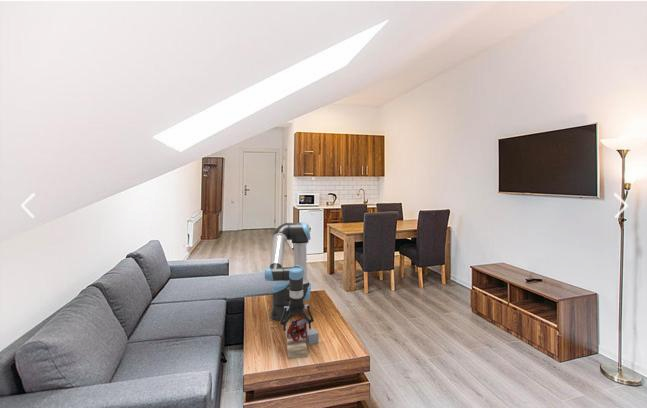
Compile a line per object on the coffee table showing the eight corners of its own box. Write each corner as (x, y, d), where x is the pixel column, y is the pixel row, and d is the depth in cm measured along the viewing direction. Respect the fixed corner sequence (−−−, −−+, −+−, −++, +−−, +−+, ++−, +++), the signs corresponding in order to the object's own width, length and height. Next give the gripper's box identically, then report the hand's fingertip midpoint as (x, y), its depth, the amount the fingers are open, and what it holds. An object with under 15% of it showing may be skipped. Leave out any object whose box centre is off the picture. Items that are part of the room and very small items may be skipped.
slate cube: (305, 340, 179) (305, 330, 179) (314, 338, 182) (314, 328, 181) (309, 345, 174) (308, 335, 174) (318, 342, 177) (318, 332, 176)
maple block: (286, 344, 176) (286, 335, 176) (304, 342, 178) (304, 334, 177) (288, 359, 161) (287, 350, 161) (306, 357, 163) (306, 348, 162)
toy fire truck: (284, 338, 168) (283, 320, 168) (303, 331, 176) (302, 314, 175) (290, 344, 163) (290, 325, 162) (309, 336, 170) (309, 318, 169)
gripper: (274, 301, 161) (275, 340, 163) (318, 297, 165) (319, 336, 167) (274, 295, 169) (275, 333, 170) (316, 292, 173) (317, 329, 175)
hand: (297, 335), depth 169 cm, fingers closed on toy fire truck, 11 cm apart
